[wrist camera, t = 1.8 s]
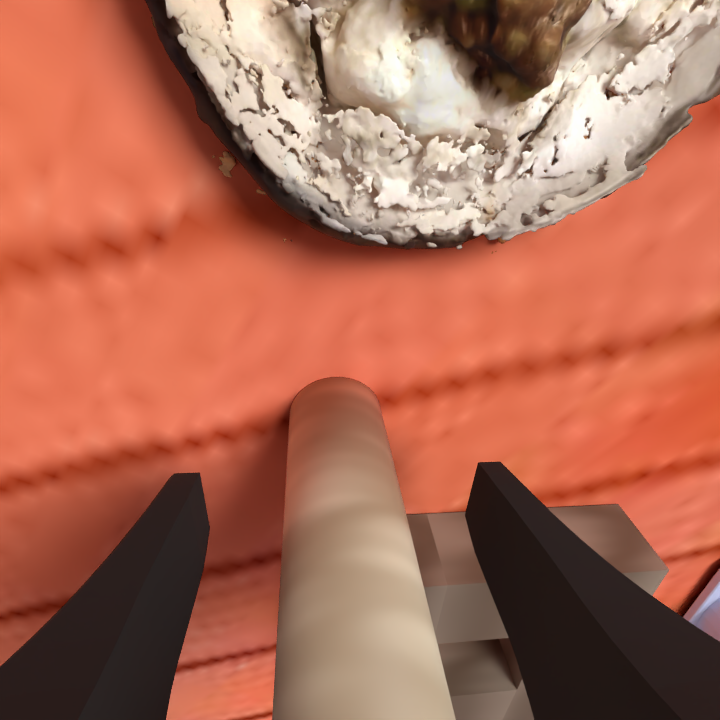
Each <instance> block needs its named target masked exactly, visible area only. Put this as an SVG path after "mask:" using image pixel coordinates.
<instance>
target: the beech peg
mask: <svg viewBox="0 0 720 720" xmlns="http://www.w3.org/2000/svg"><path fill="white" fill-rule="evenodd" d="M272 720H456V719H455V714H454V710H453V706H452V702H451V698H450V694H449V690H448V685H447V681H446V677H445V673H444V669H443V665H442V661H441V656H440V652H439V648H438V644H437V640H436V636H435V632H434V627H433V623H432V619H431V615H430V611H429V607H428V603H427V598H426V594H425V590H424V586H423V582H422V578H421V574H420V569H419V565H418V561H417V557H416V553H415V549H414V545H413V540H412V536H411V532H410V528H409V524H408V520H407V516H406V511H405V507H404V503H403V499H402V495H401V491H400V487H399V482H398V478H397V474H396V470H395V466H394V462H393V458H392V453H391V449H390V445H389V441H388V437H387V433H386V429H385V424H384V420H383V416H382V412H381V408H380V404H379V401H378V399H377V397H376V395H375V394H374V392H373V391H372V390H371V389H370V388H369V387H367V386H366V385H365V384H363V383H361V382H359V381H357V380H354V379H350V378H345V377H330V378H324V379H321V380H318V381H315V382H313V383H311V384H309V385H308V386H306V387H305V388H304V389H302V390H301V391H300V392H299V393H298V395H297V396H296V397H295V399H294V401H293V403H292V405H291V409H290V419H289V436H288V454H287V471H286V489H285V506H284V524H283V541H282V559H281V576H280V594H279V611H278V629H277V646H276V664H275V681H274V699H273V716H272Z"/></svg>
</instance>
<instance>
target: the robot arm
mask: <svg viewBox="0 0 720 720" xmlns="http://www.w3.org/2000/svg"><path fill="white" fill-rule="evenodd" d="M465 517H466V521H467V525H468V529H469V533H470V537H471V541H472V544H473V548H474V551H475V554H476V557H477V559H478V562H479V565H480V567H481V570H482V572H483V575H484V577H485V580H486V582H487V585H488V587H489V590H490V592H491V595H492V597H493V600H494V602H495V605H496V607H497V610H498V612H499V615H500V617H501V620H502V622H503V625H504V627H505V630H506V632H507V635H508V637H509V640H510V643H511V646H512V648H513V651H514V654H515V657H516V660H517V663H518V666H519V670H520V673H521V676H522V679H523V683H524V686H525V689H526V693H527V696H528V699H529V703H530V706H531V710H532V713H533V717H534V720H720V568H719V570H718V571H717V572H716V574H715V575H714V576H713V578H712V579H711V580H710V582H709V583H708V584H707V586H706V587H705V588H704V590H703V591H702V592H701V594H700V595H699V596H698V598H697V599H696V600H695V602H694V603H693V604H692V606H691V607H690V608H689V610H688V611H687V612H686V614H685V615H684V616H683V617H682V616H680V615H679V614H677V613H676V612H674V611H673V610H671V609H670V608H668V607H667V606H665V605H664V604H663V603H661V602H660V601H658V600H657V599H656V598H654V597H653V596H651V595H650V594H649V593H647V592H646V591H645V590H643V589H642V588H641V587H639V586H638V585H637V584H636V583H634V582H633V581H632V580H630V579H629V578H628V577H626V576H625V575H624V574H622V573H621V572H620V571H618V570H617V569H616V568H615V567H614V566H612V565H611V564H610V563H609V562H607V561H606V560H605V559H604V558H603V557H601V556H600V555H599V554H598V553H597V552H595V551H594V550H593V549H592V548H591V547H590V546H588V545H587V544H586V543H585V542H584V541H583V540H581V539H580V538H579V537H578V536H577V535H576V534H575V533H574V532H573V531H571V530H570V529H569V528H568V527H567V526H566V525H565V524H564V523H563V522H562V521H560V520H559V519H558V518H557V517H556V516H555V515H554V514H553V513H552V512H551V511H550V510H549V509H548V508H547V507H546V506H545V505H544V504H543V503H542V502H540V501H539V500H538V499H537V498H536V497H535V496H534V495H533V494H532V493H531V492H530V491H529V490H528V489H527V488H526V487H525V486H524V485H523V484H522V483H521V482H520V481H519V480H518V479H517V478H516V477H515V476H514V475H513V474H512V473H511V472H510V471H509V470H508V469H507V468H506V467H505V466H504V465H503V464H502V463H501V462H479V463H478V465H477V469H476V473H475V477H474V481H473V485H472V489H471V493H470V497H469V501H468V505H467V509H466V513H465ZM209 530H210V526H209V521H208V515H207V510H206V504H205V499H204V493H203V488H202V482H201V477H200V473H176V474H173V475H172V476H171V477H170V478H169V480H168V481H167V482H166V484H165V485H164V487H163V488H162V489H161V491H160V492H159V493H158V495H157V496H156V497H155V499H154V500H153V501H152V503H151V504H150V505H149V507H148V508H147V509H146V511H145V512H144V513H143V514H142V516H141V517H140V518H139V520H138V521H137V522H136V523H135V525H134V526H133V527H132V528H131V530H130V531H129V532H128V533H127V534H126V536H125V537H124V538H123V539H122V541H121V542H120V543H119V544H118V545H117V547H116V548H115V549H114V550H113V552H112V553H111V554H110V555H109V556H108V557H107V559H106V560H105V561H104V562H103V563H102V564H101V565H100V566H99V568H98V569H97V570H96V571H95V572H94V573H93V574H92V575H91V577H90V578H89V579H88V580H87V581H86V582H85V583H84V584H83V586H82V587H81V588H80V589H79V590H78V591H77V592H76V593H75V594H74V595H73V596H72V597H71V598H70V599H69V600H68V602H67V603H66V604H65V605H64V606H63V607H62V608H61V609H60V610H59V611H58V612H57V613H56V614H55V615H54V616H53V617H52V618H51V619H50V620H49V621H48V622H47V623H46V624H45V625H44V626H43V627H42V628H41V629H40V630H39V631H38V632H37V633H36V634H35V635H34V636H33V637H32V638H31V639H29V640H28V641H27V642H26V643H25V644H24V645H23V646H22V647H21V648H20V649H19V650H18V651H17V652H16V653H14V654H13V655H12V656H11V657H10V658H9V659H8V660H7V661H6V662H5V663H4V664H3V665H2V666H1V667H0V720H166V715H167V710H168V704H169V699H170V694H171V689H172V685H173V680H174V676H175V672H176V668H177V664H178V660H179V657H180V653H181V649H182V646H183V642H184V638H185V635H186V631H187V628H188V624H189V620H190V617H191V613H192V609H193V606H194V602H195V598H196V595H197V591H198V587H199V584H200V580H201V576H202V572H203V568H204V562H205V556H206V550H207V543H208V537H209Z"/></svg>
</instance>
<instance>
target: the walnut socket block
mask: <svg viewBox="0 0 720 720" xmlns="http://www.w3.org/2000/svg"><path fill="white" fill-rule="evenodd" d="M548 509H549V510H550V511H551V512H552V513H553V514H554V515H555V516H556V517H557V518H558V519H559V520H560V521H562V522H563V523H564V524H565V525H566V526H567V527H568V528H569V529H570V530H571V531H573V532H574V533H575V534H576V535H577V536H578V537H579V538H580V539H581V540H583V541H584V542H585V543H586V544H587V545H588V546H590V547H591V548H592V549H593V550H594V551H595V552H597V553H598V554H599V555H600V556H601V557H603V558H604V559H605V560H606V561H607V562H609V563H610V564H611V565H612V566H614V567H615V568H616V569H617V570H618V571H620V572H621V573H622V574H624V575H625V576H626V577H628V578H629V579H630V580H632V581H633V582H634V583H636V584H637V585H638V586H639V587H641V588H642V589H643V590H645V591H646V592H647V593H649V594H650V595H651V596H652V595H653V594H654V592H655V591H656V589H657V588H658V586H659V585H660V583H661V582H662V580H663V579H664V577H665V575H666V574H667V572H668V571H669V569H668V568H667V566H666V565H665V564H664V562H663V561H662V560H661V559H660V557H659V556H658V555H657V553H656V552H655V551H654V550H653V548H652V547H651V546H650V544H649V543H648V542H647V541H646V539H645V538H644V537H643V535H642V534H641V533H640V532H639V530H638V529H637V528H636V526H635V525H634V524H633V523H632V521H631V520H630V519H629V517H628V516H627V515H626V514H625V512H624V511H623V510H622V508H621V507H620V506H619V505H618V504H612V505H592V506H572V507H552V508H548ZM465 513H466V512H452V513H432V514H412V515H406V516H407V520H408V524H409V528H410V532H411V536H412V540H413V545H414V549H415V553H416V557H417V561H418V565H419V569H420V574H421V578H422V582H423V586H424V590H425V594H426V598H427V603H428V607H429V611H430V615H431V619H432V623H433V627H434V632H435V636H436V640H437V644H438V648H439V652H440V656H441V661H442V665H443V669H444V673H445V677H446V681H447V685H448V690H449V694H450V698H451V702H452V706H453V710H454V714H455V719H456V720H534V717H533V713H532V710H531V706H530V703H529V699H528V696H527V693H526V689H525V686H524V683H523V679H522V676H521V673H520V670H519V666H518V663H517V660H516V657H515V654H514V651H513V648H512V646H511V643H510V640H509V637H508V635H507V632H506V630H505V627H504V625H503V622H502V620H501V617H500V615H499V612H498V610H497V607H496V605H495V602H494V600H493V597H492V595H491V592H490V590H489V587H488V585H487V582H486V580H485V577H484V575H483V572H482V570H481V567H480V565H479V562H478V559H477V557H476V554H475V551H474V548H473V544H472V541H471V537H470V533H469V529H468V525H467V521H466V517H465Z"/></svg>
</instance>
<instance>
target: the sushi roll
mask: <svg viewBox="0 0 720 720" xmlns="http://www.w3.org/2000/svg"><path fill="white" fill-rule="evenodd" d="M145 1H146V3H147V5H148V7H149V9H150V12H151V14H152V19H153V25H154V27H155V28H156V30H157V33H158V36H159V38H160V40H161V42H162V44H163V46H164V48H165V50H166V52H167V54H168V56H169V57H170V59H171V61H172V62H173V63H174V65H175V66H176V68H177V69H178V71H179V72H180V74H181V75H182V77H183V78H184V80H185V81H186V83H187V85H188V86H189V88H190V89H191V91H192V93H193V96H194V98H195V102H196V107H197V113H198V115H199V117H200V119H201V120H202V121H203V122H205V123H206V124H208V125H209V126H210V127H211V129H212V130H213V131H214V133H215V134H216V136H217V137H218V138H219V140H220V141H221V142H222V143H223V144H224V145H225V146H226V147H227V148H228V150H229V151H230V152H231V153H232V154H233V155H234V156H235V157H236V158H237V159H238V161H239V162H240V163H241V164H242V165H243V166H244V168H245V169H246V170H247V171H248V172H249V174H250V175H251V176H252V177H253V179H254V180H255V181H256V182H257V183H258V184H259V186H260V187H261V188H262V189H263V190H264V191H261V190H259V189H257V190H256V192H257V193H259V194H264V195H266V194H267V195H268V196H269V197H270V198H271V199H272V200H273V201H274V202H275V203H276V204H277V205H278V206H279V207H280V208H282V209H283V210H284V211H286V212H287V213H288V214H290V215H291V216H293V217H294V218H296V219H298V220H300V221H301V222H303V223H305V224H307V225H309V226H310V227H312V228H313V229H316V230H318V231H320V232H322V233H324V234H326V235H328V236H331V237H334V238H336V239H339V240H342V241H345V242H348V243H351V244H355V245H360V246H377V247H389V248H401V249H405V248H406V249H411V248H416V249H440V248H451V247H456V248H457V249H461V248H462V246H461V244H463V243H464V242H466V241H468V240H470V239H474V238H476V237H478V236H481V235H485V236H486V238H487V239H488V240H495V239H497V241H499V242H500V243H504V242H505V241H508V240H510V239H512V238H513V237H514V236H516V235H519V234H522V233H525V232H527V231H533V232H535V231H536V230H537V229H539V228H544V227H547V226H549V225H555V224H556V223H557V222H559V221H561V220H562V219H564V218H565V217H566V216H567V215H568V214H575V213H576V212H578V211H580V210H582V209H584V208H585V207H587V206H589V205H591V204H593V203H595V202H596V201H598V200H599V199H602V198H605V197H607V196H609V195H610V194H612V193H613V192H615V191H616V190H617V189H618V188H620V187H621V186H623V185H625V184H627V183H629V182H631V181H633V180H637V179H639V178H640V177H642V175H643V174H644V172H645V171H646V169H647V166H646V165H644V164H645V163H647V162H648V161H649V160H650V159H651V158H652V157H653V156H654V155H655V154H656V153H657V152H658V151H659V150H660V149H662V148H664V146H665V145H666V143H667V142H668V141H669V140H670V139H671V138H672V137H674V136H675V135H676V134H678V133H679V132H680V131H681V130H682V129H684V128H685V127H687V126H688V125H689V124H690V123H691V122H692V120H693V117H692V115H690V114H688V109H689V108H690V107H692V106H694V105H697V104H701V103H705V102H707V101H709V100H711V99H713V98H714V97H716V96H717V95H719V94H720V0H145ZM604 5H605V6H604ZM412 69H413V70H412ZM231 153H229V152H226V151H224V152H223V156H224V157H219V159H220V160H221V162H222V165H220V166H219V170H221V171H222V172H223V174H224V176H227V177H232V175H231V174H230V170H232V168H233V167H234V166H235V164H236V161H235V158H234V156H233V155H232V154H231ZM212 158H215V155H213V156H212ZM265 192H266V194H265ZM285 240H286V238H284V242H285ZM291 241H293V240H291ZM495 252H496V251H495ZM492 253H493V252H492Z"/></svg>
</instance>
